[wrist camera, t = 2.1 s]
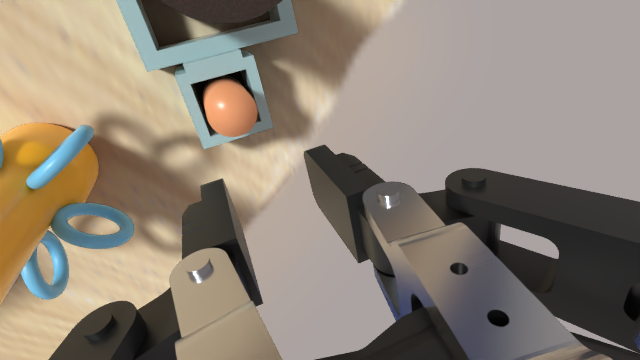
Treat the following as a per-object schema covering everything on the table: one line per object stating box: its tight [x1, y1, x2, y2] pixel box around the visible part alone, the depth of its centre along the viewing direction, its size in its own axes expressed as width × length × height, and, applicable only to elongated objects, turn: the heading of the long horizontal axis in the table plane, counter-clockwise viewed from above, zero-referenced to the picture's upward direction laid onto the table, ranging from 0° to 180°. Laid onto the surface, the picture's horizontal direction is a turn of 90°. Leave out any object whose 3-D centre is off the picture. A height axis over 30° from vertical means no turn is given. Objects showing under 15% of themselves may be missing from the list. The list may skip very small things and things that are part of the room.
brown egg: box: [202, 76, 258, 137], centre depth 23 cm, size 3×3×4 cm
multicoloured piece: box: [0, 123, 134, 305], centre depth 18 cm, size 12×10×15 cm
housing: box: [116, 0, 298, 149], centre depth 22 cm, size 16×10×4 cm, turn 12°
